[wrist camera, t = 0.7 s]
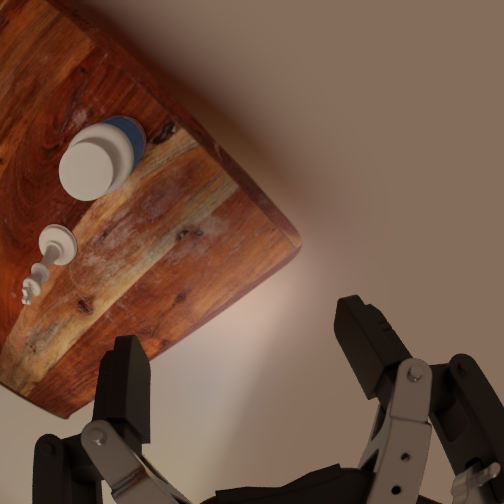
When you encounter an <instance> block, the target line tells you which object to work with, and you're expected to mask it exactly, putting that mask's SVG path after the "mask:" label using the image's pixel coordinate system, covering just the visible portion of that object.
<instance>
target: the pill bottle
mask: <svg viewBox="0 0 504 504" xmlns="http://www.w3.org/2000/svg"><path fill="white" fill-rule="evenodd" d="M145 148H146V135H145V132H144V129H143V128H142V126H141V125H140V123H139V122H138V121H136V120H135V119H133V118H131V117H129V116H124V115H117V116H112V117H109V118H107V119H105V120H102V121H100V122H98V123H95V124H93V125H91V126H88V127H87V128H85V129H83V130H81V131H80V132H79V133H78V134H77V135H76V136H75V137H74V138H73V140H72V141H71V143H70V145H69V147H68V150H67V151H66V152H65V153H64V155H63V157H62V159H61V162H60V166H59V177H60V181H61V183H62V185H63V187H64V189H65V190H66V191H67V192H68V193H69V194H70V195H71V196H73V197H74V198H76V199H78V200H83V201H90V200H95V199H97V198H99V197H101V196H102V195H105V194H109V193H111V192H114V191H115V190H117V189H118V188H120V187H121V186H122V185H123V184H124V183H125V181H126V180H127V179H128V177H129V176H130V174H131V172H132V171H133V170H134V168H135V167H136V165H137V164H138V162H139V161H140V160H141V158H142V156H143V154H144V152H145Z"/></svg>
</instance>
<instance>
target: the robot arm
mask: <svg viewBox="0 0 504 504" xmlns="http://www.w3.org/2000/svg"><path fill="white" fill-rule="evenodd" d="M334 332H335V336H336V338H337V340H338V342H339V344H340V346H341V348H342V350H343V352H344V354H345V356H346V358H347V359H348V361H349V363H350V365H351V367H352V369H353V371H354V373H355V375H356V377H357V379H358V381H359V383H360V385H361V387H362V389H363V391H364V393H365V395H366V397H367V399H368V400H370V399H372V398H375V397H377V398H378V400H379V402H380V403H379V405H378V408H377V412H376V416H375V420H374V423H373V427H372V431H371V434H370V438H369V441H368V444H367V446H366V448H365V450H364V452H363V455H362V457H361V459H360V462H359V465H358V467H357V468H341V467H340V465H339V463H338V464H335V465H332V466H330V467H326V468H323V469H320V470H316V471H313V472H310V473H308V474H306V475H304V476H302V477H301V478H299V479H297V480H295V481H293V482H291V483H289V484H287V485H285V486H282V487H275V488H274V487H241V488H234V489H226V490H219V491H215V493H216V496H213V497H211V498H209V499H207V500H205V501H203V502H202V503H200V504H442V503H439V502H436V501H434V500H431V499H429V498H426V497H424V496H421V495H419V490H420V486H421V483H422V479H423V474H424V470H425V466H426V461H427V456H428V451H429V446H430V439H431V434H432V426H431V424H430V423H428V416H429V418H430V420H431V422H432V424H433V427H434V429H435V431H436V433H437V435H438V437H439V439H440V441H441V444H442V446H443V448H444V450H445V453H446V455H447V457H448V459H449V462H450V464H451V466H452V469H453V471H454V474H455V476H456V477H455V479H454V481H453V484H452V488H451V494H452V495H453V502H452V504H504V407H503V405H502V403H501V402H500V400H499V398H498V396H497V395H496V393H495V392H494V390H493V388H492V386H491V385H490V383H489V382H488V380H487V378H486V377H485V375H484V374H483V372H482V371H481V369H480V368H479V366H478V364H477V363H476V361H475V360H474V359H473V358H472V357H471V356H469V355H467V354H456V355H455V356H453V357H452V358H451V360H450V361H449V363H446V364H437V365H428V364H427V363H426V362H424V361H422V360H421V359H417V358H413V357H412V356H411V354H410V353H409V351H408V350H407V349H406V347H405V346H404V344H403V343H402V341H401V340H400V338H399V337H398V335H397V334H396V332H395V331H394V330H393V329H392V327H391V325H390V324H389V323H388V322H387V320H386V318H385V317H384V315H383V314H382V313H381V311H380V310H378V309H377V308H375V307H374V306H372V305H371V304H368V305H365V304H364V303H363V301H362V300H361V298H360V297H359V296H358V295H352V296H348V297H344V298H340V299H339V300H338V302H337V309H336V315H335V321H334ZM150 378H151V370H150V364H149V360H148V358H147V356H146V354H145V352H144V350H143V348H142V346H141V344H140V342H139V340H138V338H137V336H136V335H126V336H117V337H116V339H115V344H114V350H111V351H107V352H106V354H105V355H104V357H103V358H102V360H101V363H100V368H99V375H98V381H97V382H98V384H97V387H96V394H95V401H94V409H93V417H92V421H91V422H90V423H88V424H87V425H86V426H85V427H84V429H83V430H82V432H81V433H80V434H78V435H74V436H71V437H68V438H64V439H60V438H58V437H57V436H55V435H53V434H45V435H43V436H41V437H40V438H39V439H38V440H37V442H36V445H35V450H34V463H33V485H32V487H33V488H32V500H33V501H32V504H103V499H102V486H101V481H102V480H106V482H107V483H108V485H109V486H110V488H111V489H112V492H111V495H112V497H113V499H114V500H115V502H116V503H117V504H192V503H191V502H190V501H189V500H188V499H187V498H186V497H185V496H184V495H183V494H181V493H180V492H179V491H178V490H177V489H175V488H174V487H173V486H172V485H171V484H170V483H169V482H168V481H167V480H166V479H165V478H164V477H163V476H162V475H161V474H160V473H159V471H158V470H157V469H156V468H155V467H154V466H153V465H152V464H151V463H150V462H149V460H148V459H147V458H146V457H145V456H144V455H143V454H142V444H146V443H150Z"/></svg>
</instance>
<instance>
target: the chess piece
mask: <svg viewBox="0 0 504 504" xmlns="http://www.w3.org/2000/svg"><path fill="white" fill-rule="evenodd" d="M39 247H40V250H41V252H42V254H43V258H42V261H41V263H35V264H34V265H33V266H32V269H31V272H32V275H31V276H29V277H27V278H26V279H25V280H24V282H23V289H22V291H23V294H24V296H23V298H22V303H23V304H28V305H31V303H32V299H31V296H38V295H39V294H40V292H41V284H42V282H45V281H47V280H48V279H49V271H48V269H49V267H50V266H51V265H52V264H56V265H65V264H68V263H69V262H70V261H71V260H72V259H73V258H74V257H75V255H76V253H77V243H76V240H75V237H74V236H73V234H72V233H71V232H70V231H69V230H68V229H67V228H65V227H64V226H61V225H58V224H52V225H49V226H47V227H46V228H44V230H43V231H42V233H41V235H40V238H39Z"/></svg>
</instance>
